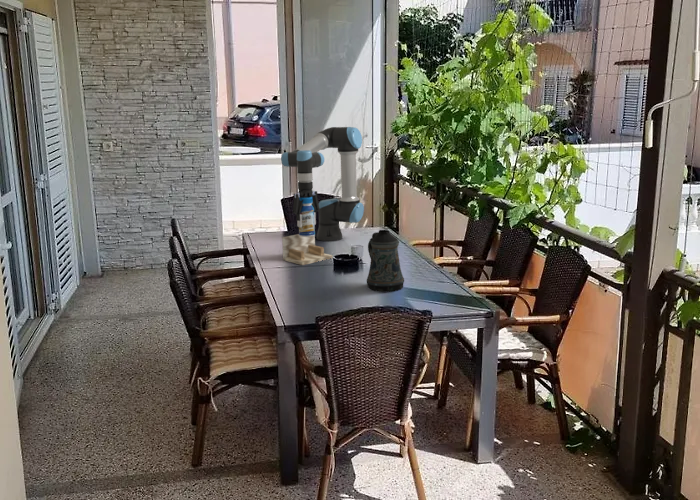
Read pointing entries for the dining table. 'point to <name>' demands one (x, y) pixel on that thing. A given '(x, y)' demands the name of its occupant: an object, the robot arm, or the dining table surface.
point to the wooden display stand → (302, 250)
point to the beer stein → (384, 263)
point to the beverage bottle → (307, 218)
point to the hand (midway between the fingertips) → (306, 225)
